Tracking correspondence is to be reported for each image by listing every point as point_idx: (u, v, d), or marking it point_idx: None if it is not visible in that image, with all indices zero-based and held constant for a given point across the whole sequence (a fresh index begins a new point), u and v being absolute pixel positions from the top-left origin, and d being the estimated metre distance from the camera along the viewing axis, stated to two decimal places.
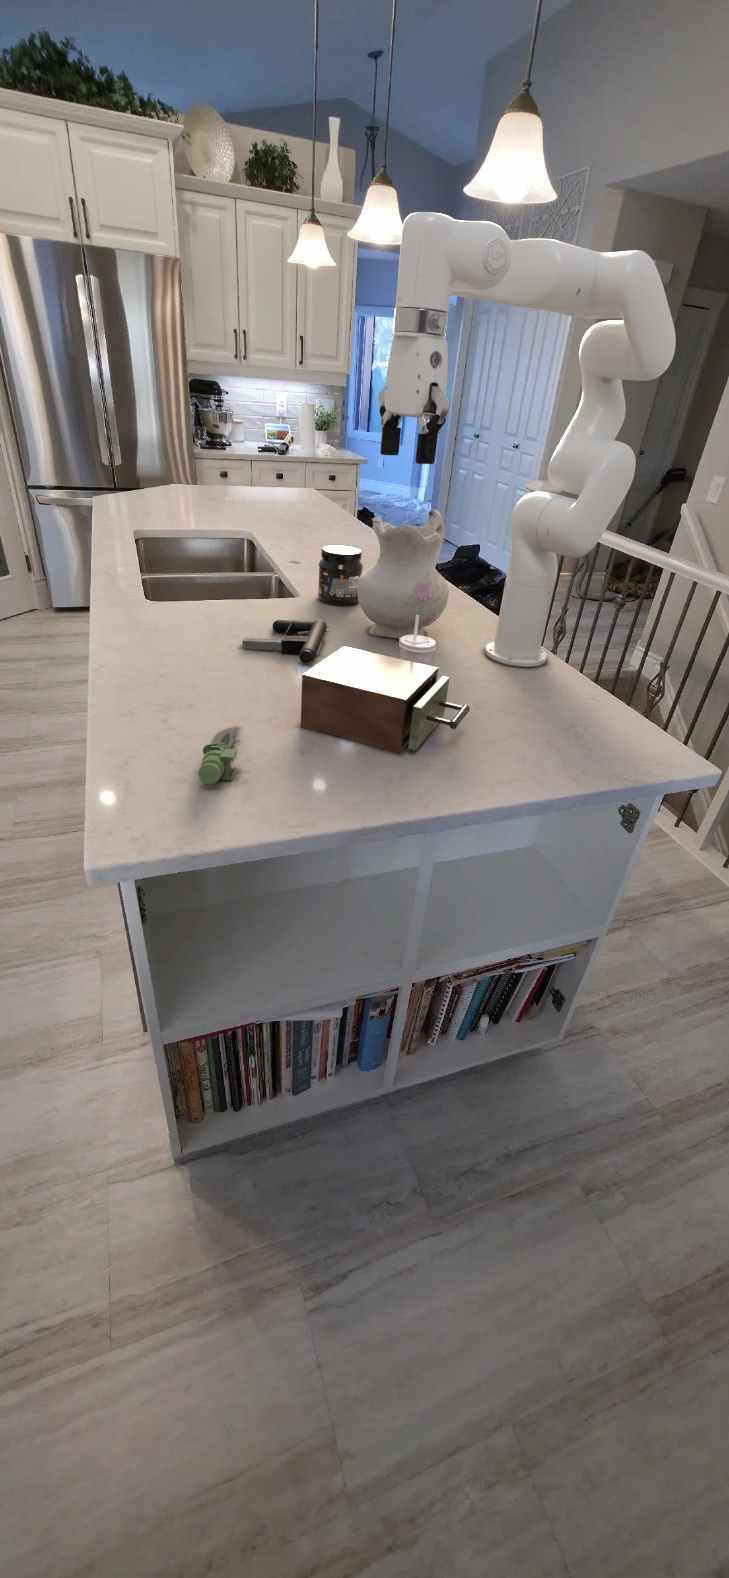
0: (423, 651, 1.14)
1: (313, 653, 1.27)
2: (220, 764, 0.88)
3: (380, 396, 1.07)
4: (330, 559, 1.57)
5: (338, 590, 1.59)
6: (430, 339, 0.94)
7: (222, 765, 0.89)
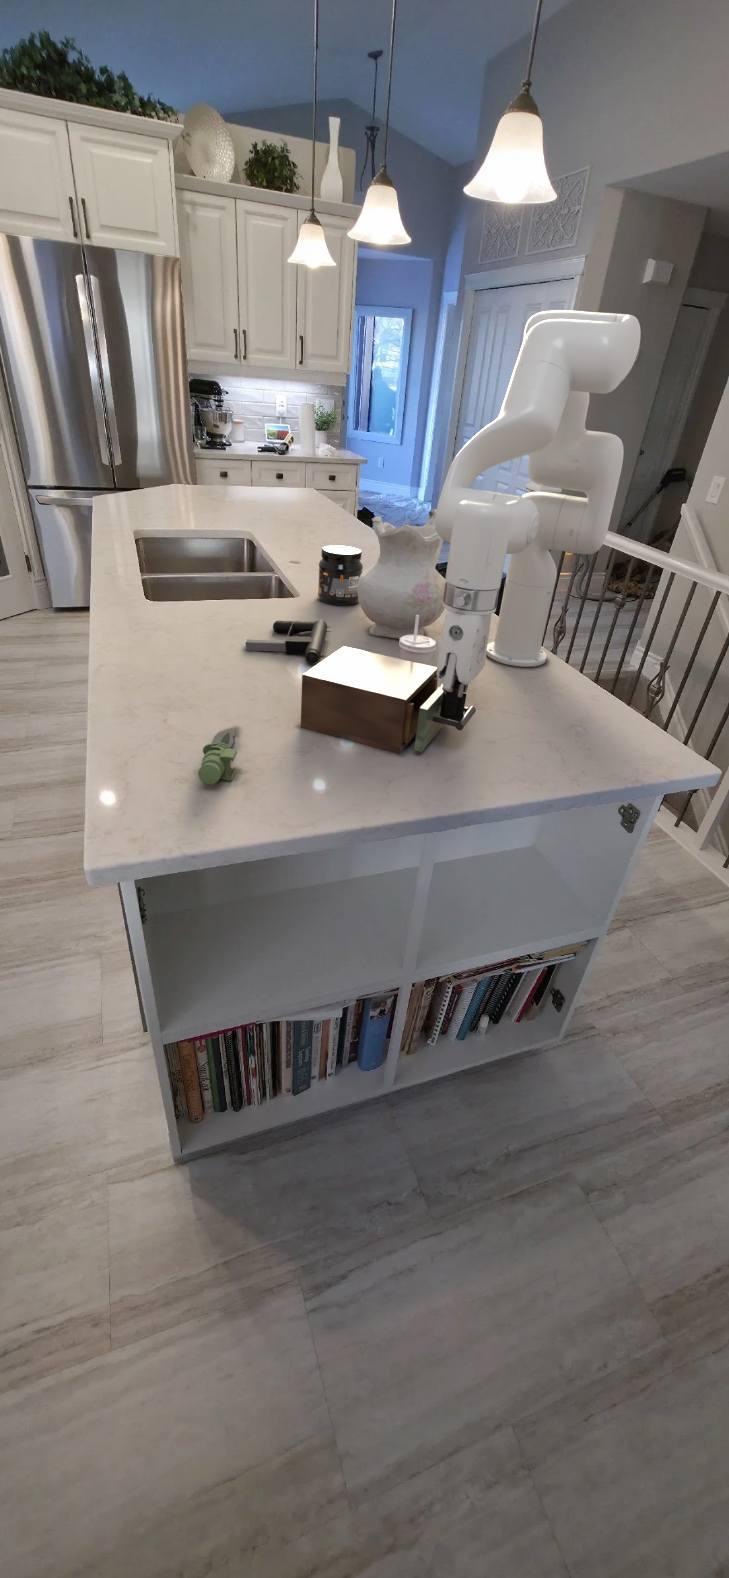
0: (423, 651, 1.14)
1: (318, 653, 1.27)
2: (220, 764, 0.88)
3: None
4: (330, 559, 1.57)
5: (338, 590, 1.59)
6: (452, 613, 0.91)
7: (222, 765, 0.89)
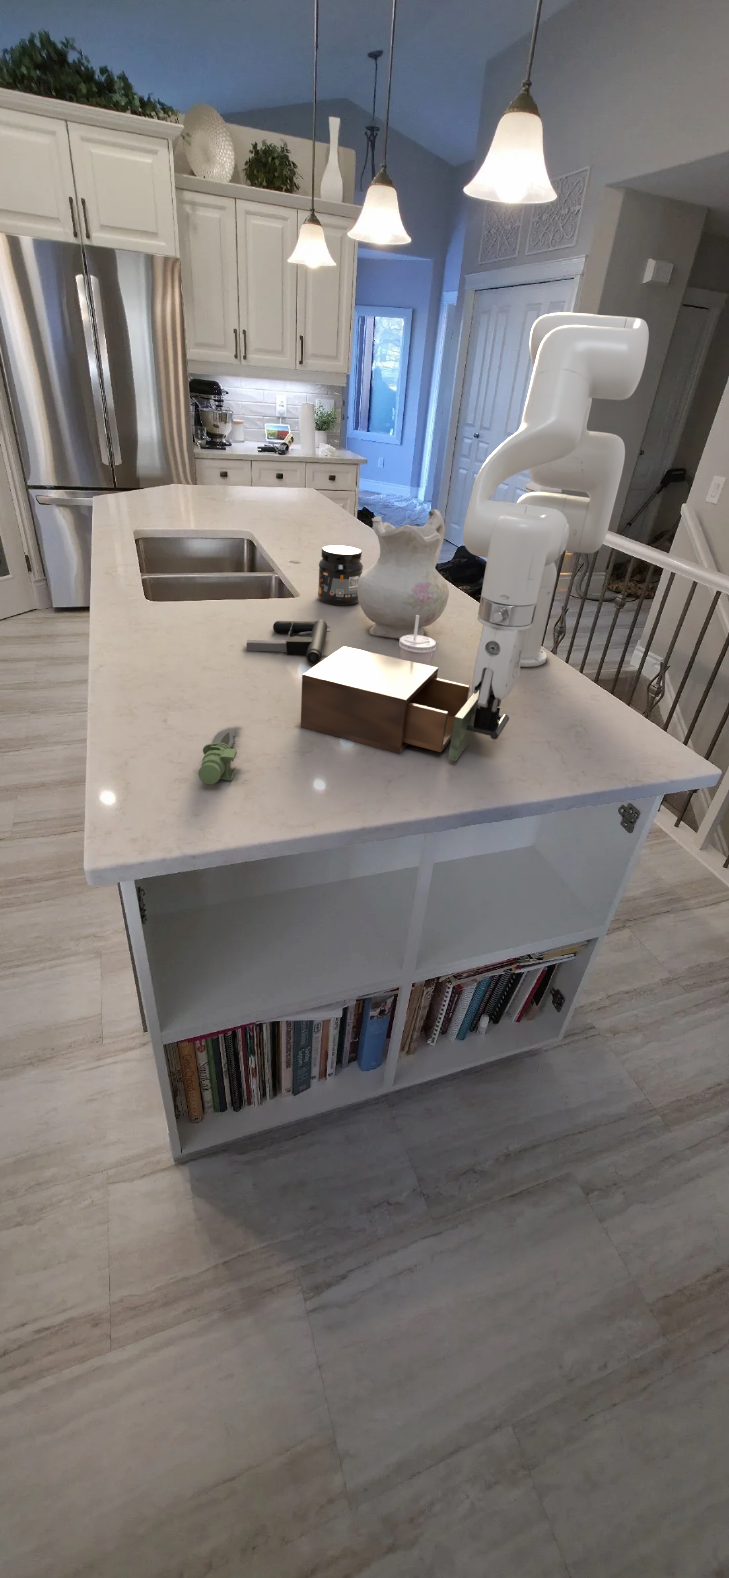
0: (423, 651, 1.14)
1: (320, 653, 1.27)
2: (220, 764, 0.88)
3: None
4: (330, 559, 1.57)
5: (338, 590, 1.59)
6: (489, 629, 0.90)
7: (222, 765, 0.89)
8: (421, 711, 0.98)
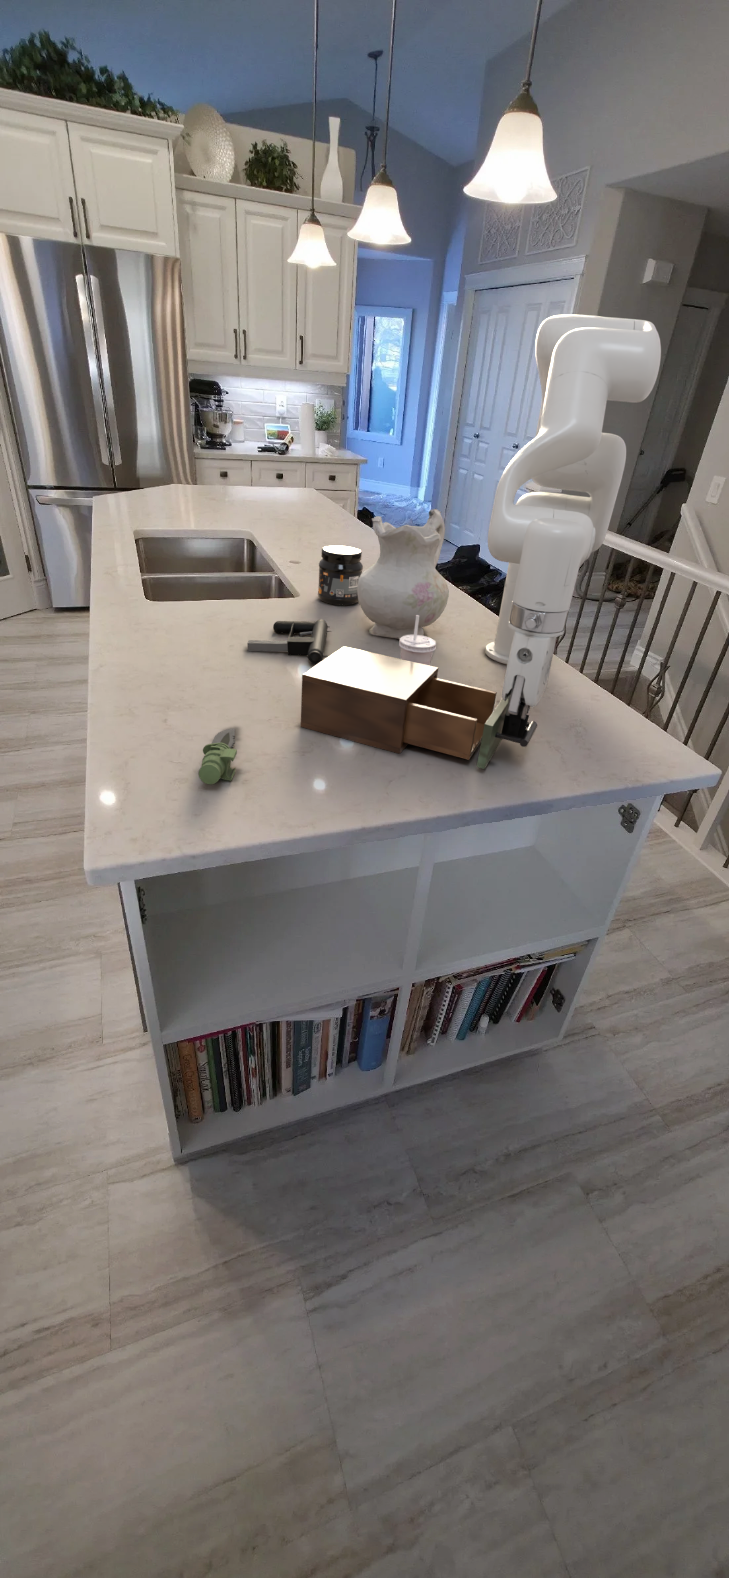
0: (423, 651, 1.14)
1: (321, 653, 1.27)
2: (220, 764, 0.88)
3: None
4: (330, 559, 1.57)
5: (338, 590, 1.59)
6: (521, 636, 0.89)
7: (222, 765, 0.89)
8: (449, 718, 0.97)
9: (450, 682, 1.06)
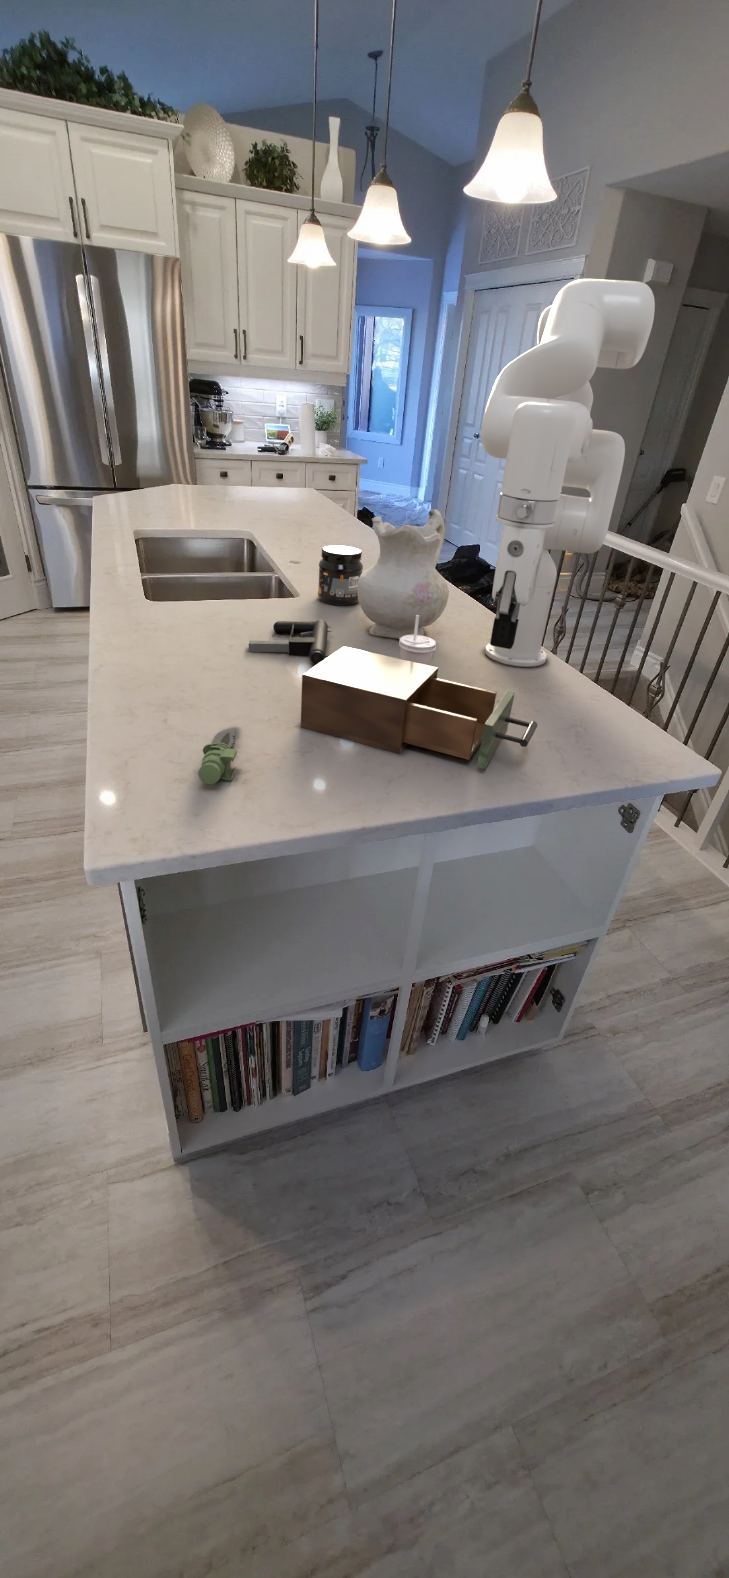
0: (423, 651, 1.14)
1: (323, 654, 1.27)
2: (220, 764, 0.88)
3: None
4: (330, 559, 1.57)
5: (338, 590, 1.59)
6: (511, 528, 0.86)
7: (222, 765, 0.89)
8: (449, 718, 0.97)
9: (450, 682, 1.06)
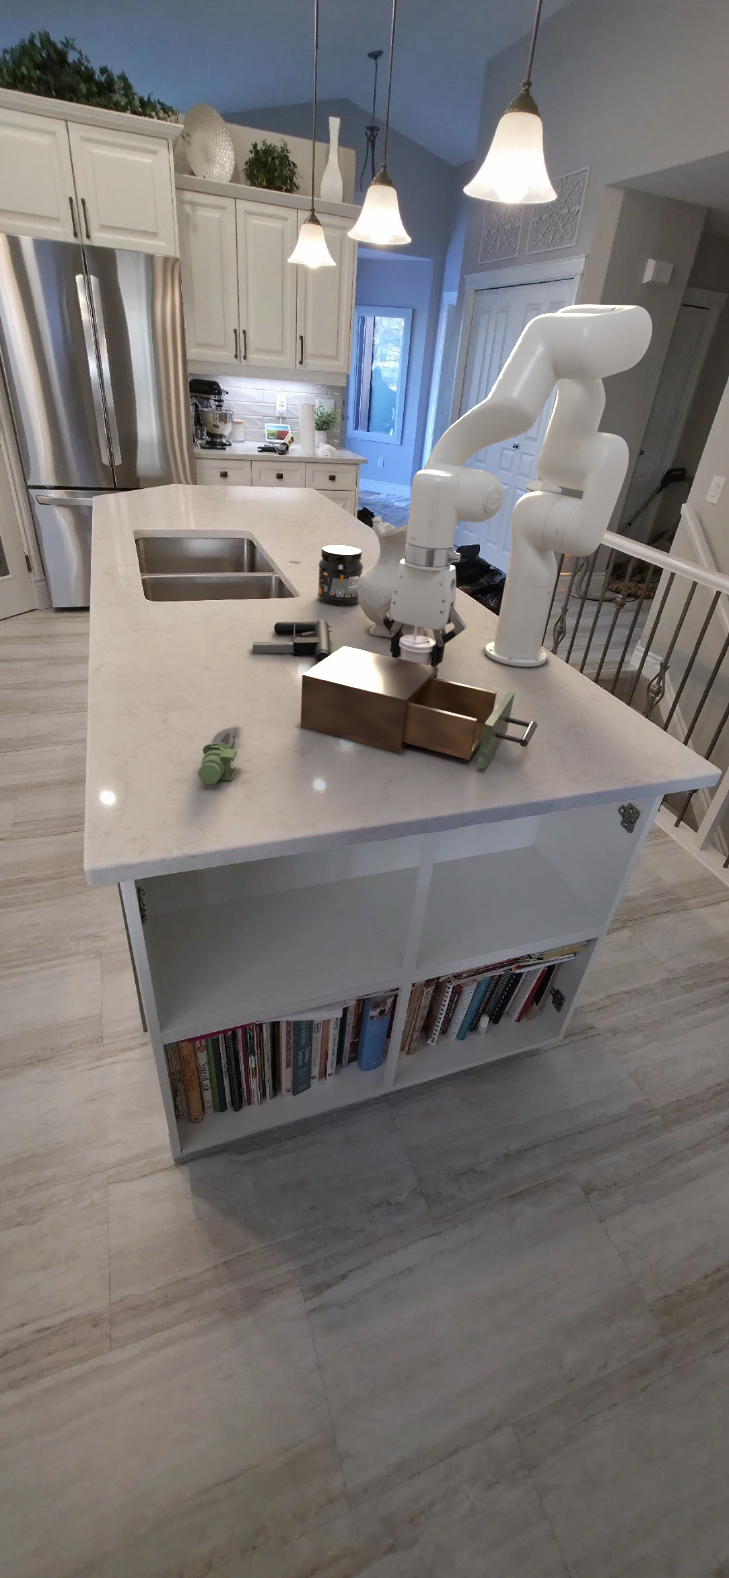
0: (423, 651, 1.14)
1: (329, 654, 1.28)
2: (220, 764, 0.88)
3: (380, 611, 1.15)
4: (330, 559, 1.57)
5: (338, 590, 1.59)
6: (450, 571, 1.07)
7: (222, 765, 0.89)
8: (449, 718, 0.97)
9: (450, 682, 1.06)
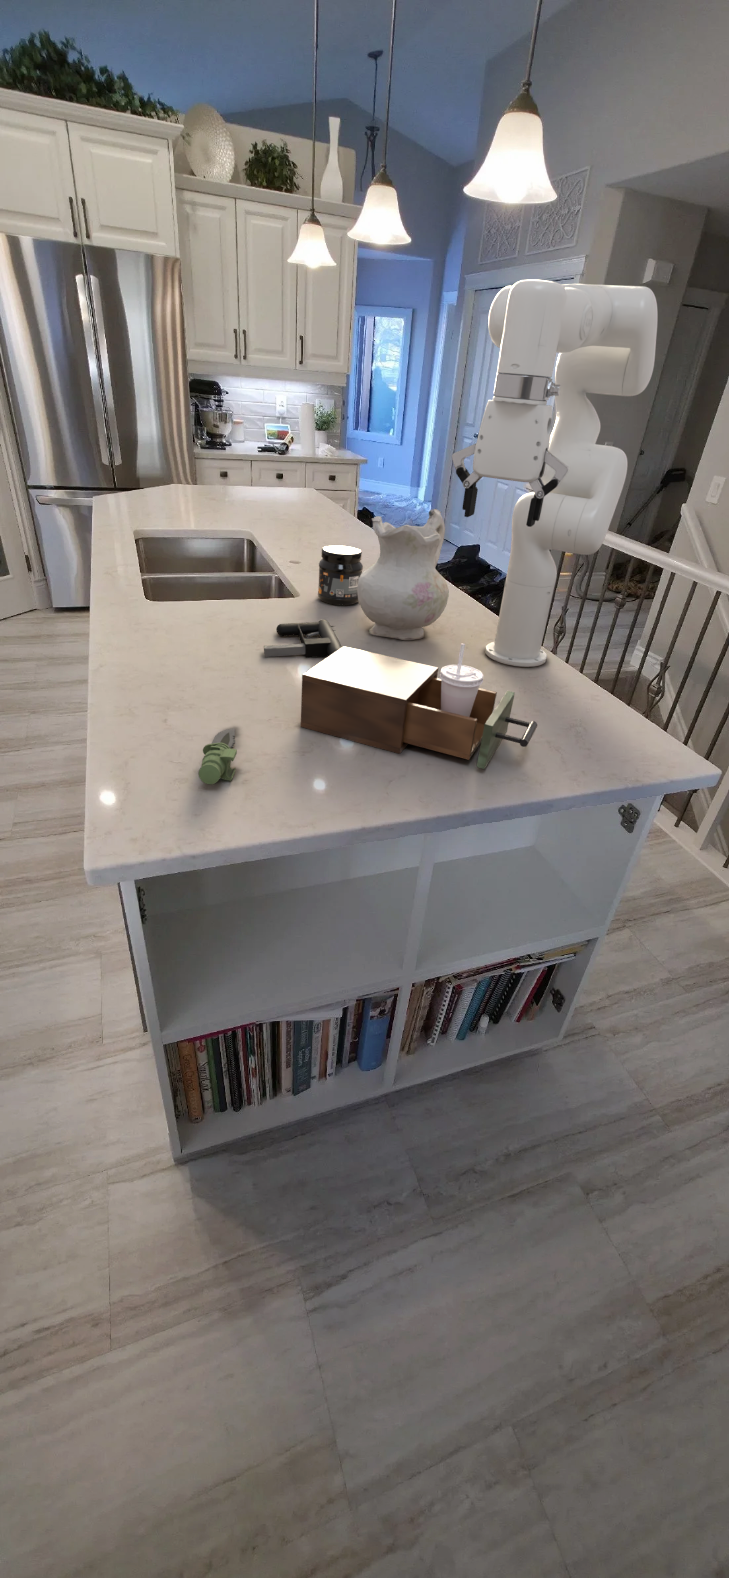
0: (469, 686, 0.97)
1: None
2: (220, 764, 0.88)
3: (456, 457, 1.01)
4: (330, 559, 1.57)
5: (338, 590, 1.59)
6: (547, 406, 0.93)
7: (222, 765, 0.89)
8: (450, 718, 0.97)
9: None
